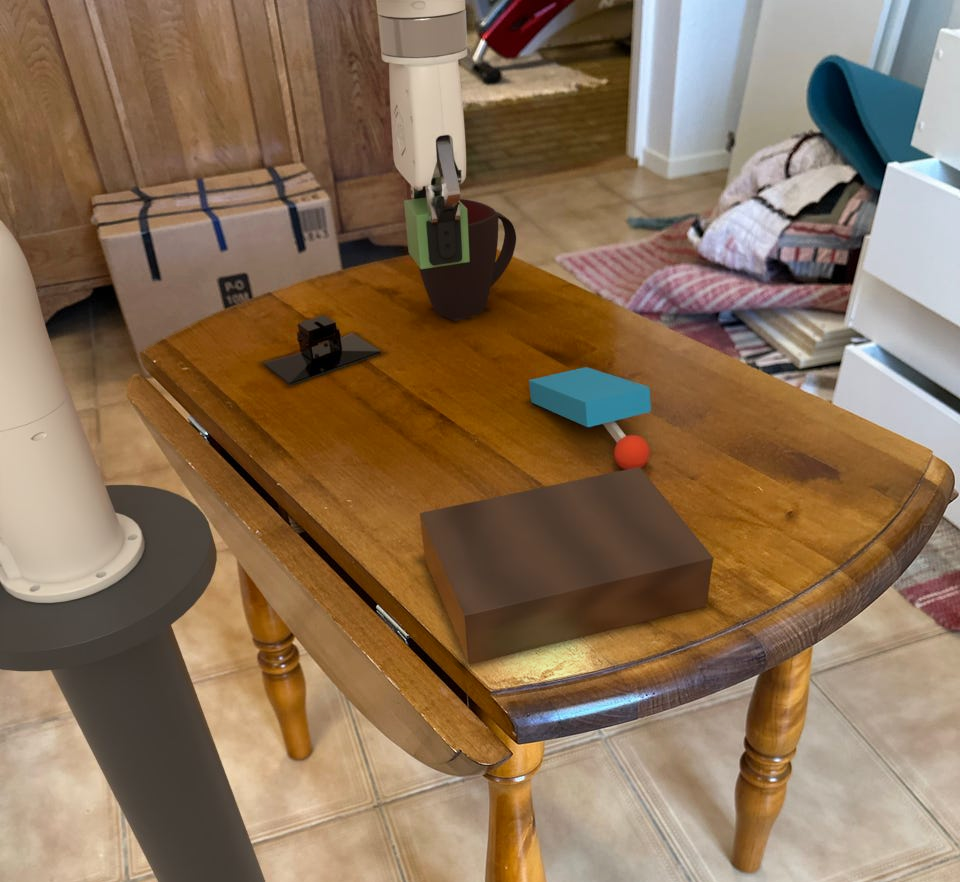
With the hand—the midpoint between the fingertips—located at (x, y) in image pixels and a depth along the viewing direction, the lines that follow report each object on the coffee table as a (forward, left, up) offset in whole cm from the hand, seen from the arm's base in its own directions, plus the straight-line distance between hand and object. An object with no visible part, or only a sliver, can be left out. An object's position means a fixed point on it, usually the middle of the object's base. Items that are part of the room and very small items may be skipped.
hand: (438, 250), depth 92 cm
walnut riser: (0, -34, -16) cm, 38 cm away
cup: (+9, +24, -16) cm, 30 cm away
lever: (+12, -12, -16) cm, 24 cm away
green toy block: (0, 0, -1) cm, 1 cm away
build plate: (-12, +16, -16) cm, 25 cm away
